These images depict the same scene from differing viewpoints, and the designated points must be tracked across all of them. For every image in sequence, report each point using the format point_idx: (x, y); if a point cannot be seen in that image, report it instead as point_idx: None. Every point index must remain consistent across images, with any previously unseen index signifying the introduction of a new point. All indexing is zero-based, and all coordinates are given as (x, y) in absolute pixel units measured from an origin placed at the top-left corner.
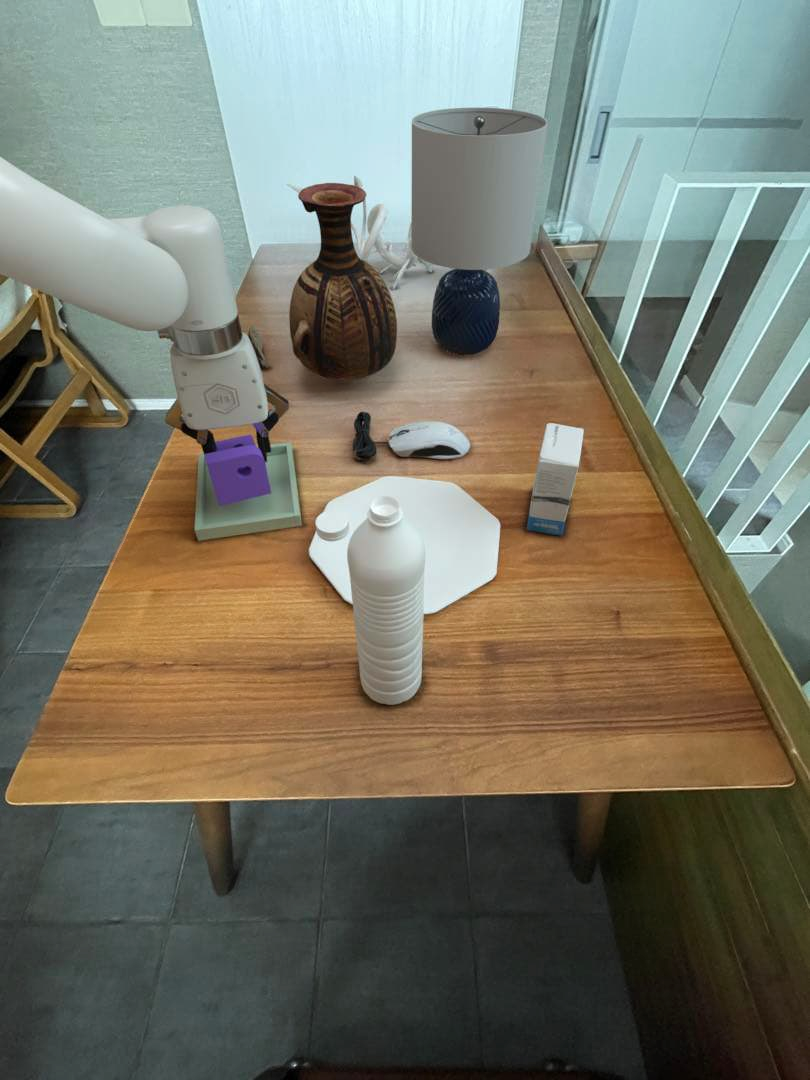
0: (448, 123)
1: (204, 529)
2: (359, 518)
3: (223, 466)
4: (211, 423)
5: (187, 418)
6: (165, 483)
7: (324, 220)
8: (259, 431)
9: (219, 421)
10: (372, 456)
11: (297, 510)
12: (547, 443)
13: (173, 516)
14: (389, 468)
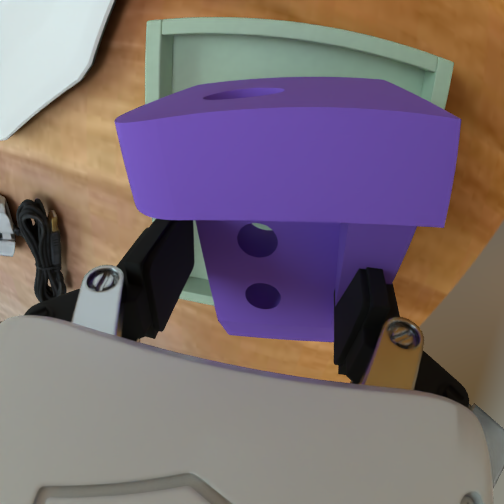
0: None
1: (428, 53)
2: (47, 28)
3: (350, 101)
4: (346, 429)
5: (486, 481)
6: (444, 282)
7: None
8: (114, 292)
9: (275, 431)
10: (24, 201)
11: (150, 39)
12: None
13: (468, 176)
14: (15, 174)
